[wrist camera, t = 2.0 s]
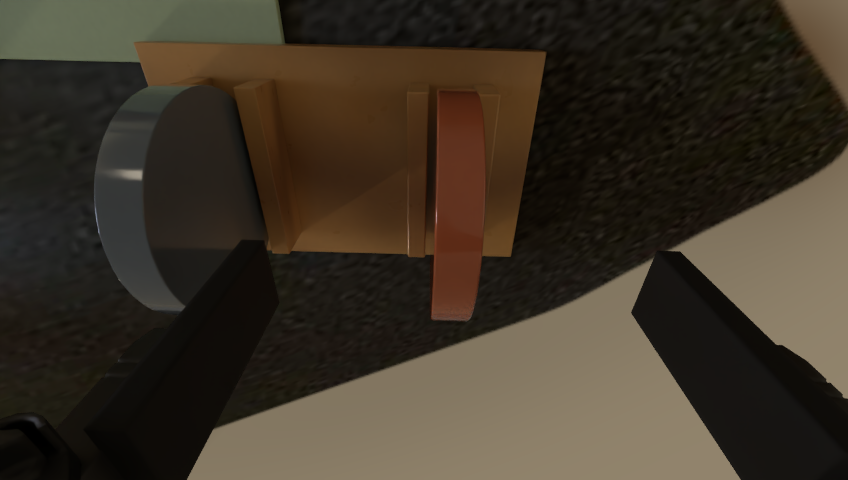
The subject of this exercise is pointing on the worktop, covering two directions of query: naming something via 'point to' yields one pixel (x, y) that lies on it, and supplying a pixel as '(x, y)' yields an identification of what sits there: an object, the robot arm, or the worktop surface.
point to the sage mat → (129, 26)
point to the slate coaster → (174, 191)
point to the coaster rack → (361, 134)
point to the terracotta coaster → (457, 204)
